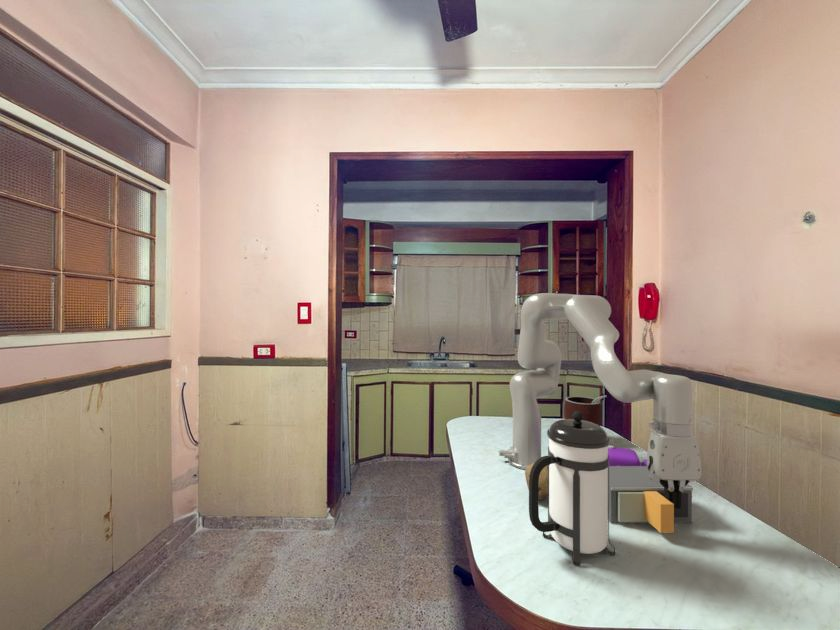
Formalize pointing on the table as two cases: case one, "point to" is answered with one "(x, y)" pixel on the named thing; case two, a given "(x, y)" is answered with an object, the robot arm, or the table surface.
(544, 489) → the natural sponge
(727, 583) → the table surface
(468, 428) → the table surface
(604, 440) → the coffee press
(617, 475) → the box
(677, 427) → the robot arm
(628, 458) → the toy camera
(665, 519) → the orange block handle
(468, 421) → the table surface
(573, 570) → the table surface
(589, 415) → the mate gourd
